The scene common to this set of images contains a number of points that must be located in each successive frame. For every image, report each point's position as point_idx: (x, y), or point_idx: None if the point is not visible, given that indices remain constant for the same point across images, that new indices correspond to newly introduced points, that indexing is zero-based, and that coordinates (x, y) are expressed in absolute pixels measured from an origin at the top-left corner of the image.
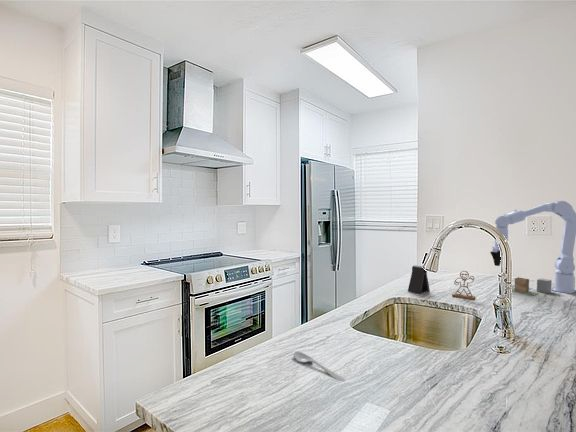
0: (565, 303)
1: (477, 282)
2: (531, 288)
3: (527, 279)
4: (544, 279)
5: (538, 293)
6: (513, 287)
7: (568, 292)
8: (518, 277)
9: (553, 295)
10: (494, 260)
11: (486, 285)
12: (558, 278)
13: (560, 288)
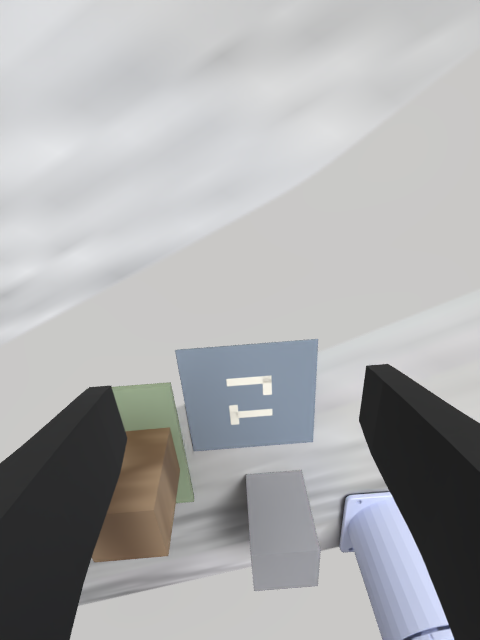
0: (122, 584)
1: (126, 78)
2: (307, 436)
3: (138, 557)
4: (298, 568)
5: (193, 499)
6: (228, 376)
7: (341, 547)
8: (150, 510)
9: (232, 529)
10: (23, 467)
11: (89, 226)
12: (379, 599)
13: (352, 540)
